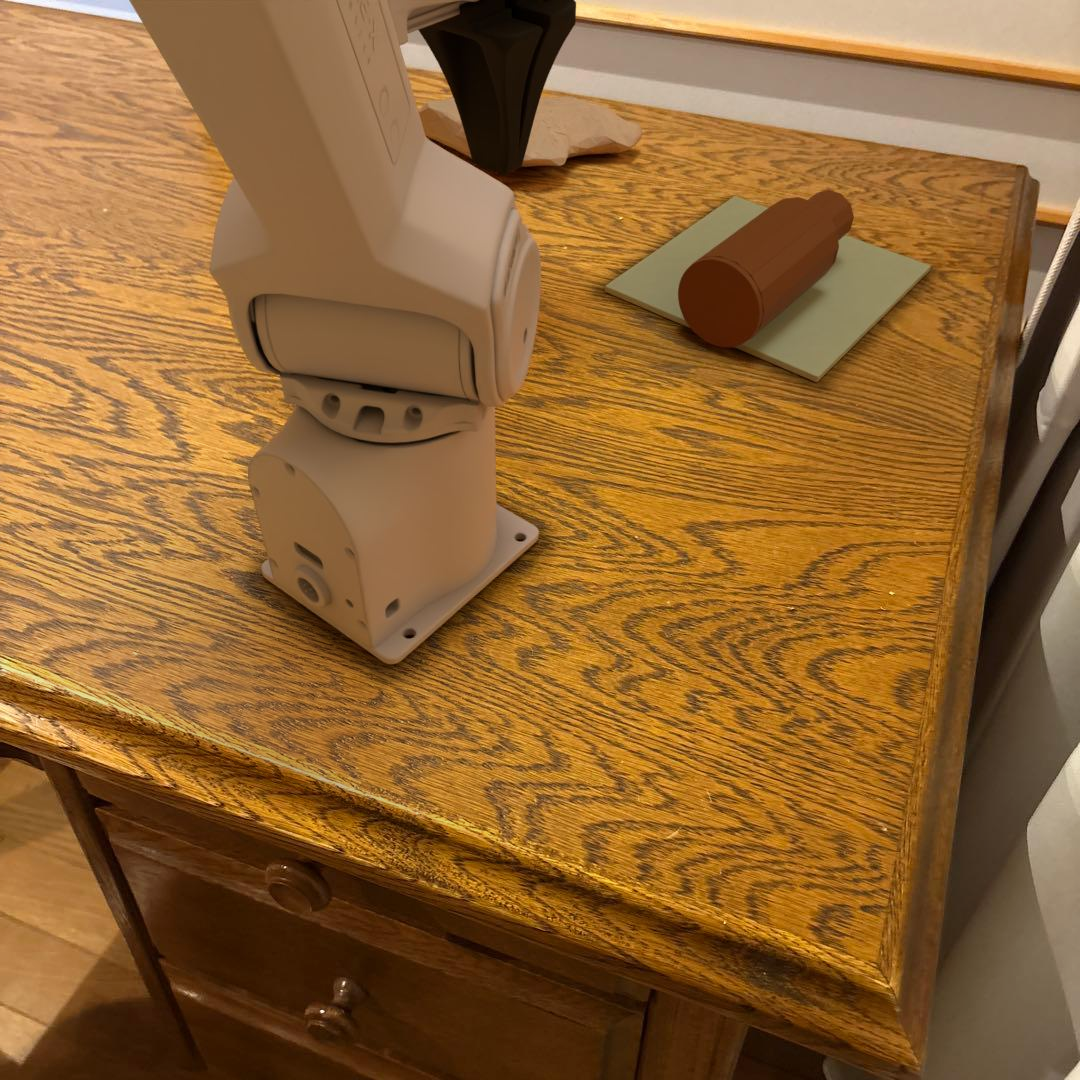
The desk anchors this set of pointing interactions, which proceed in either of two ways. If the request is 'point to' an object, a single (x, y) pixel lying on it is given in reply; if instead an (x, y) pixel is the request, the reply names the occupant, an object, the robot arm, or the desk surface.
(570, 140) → the stone
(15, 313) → the desk surface
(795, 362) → the mat
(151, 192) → the desk surface
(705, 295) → the bottle
